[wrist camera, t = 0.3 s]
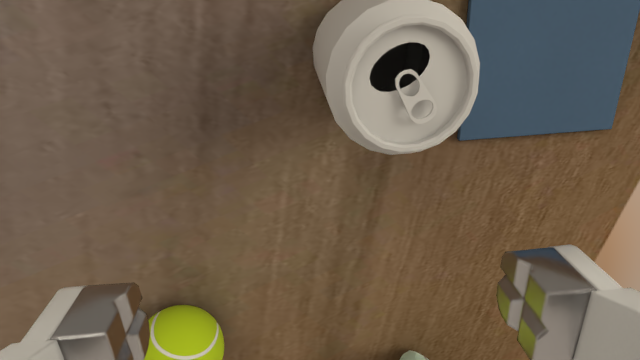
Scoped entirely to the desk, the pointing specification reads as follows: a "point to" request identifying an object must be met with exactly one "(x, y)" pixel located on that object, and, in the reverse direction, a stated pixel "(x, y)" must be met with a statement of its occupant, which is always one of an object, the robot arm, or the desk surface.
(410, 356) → the striped green spinning top
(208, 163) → the desk surface
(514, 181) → the desk surface
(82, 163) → the desk surface
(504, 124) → the mat
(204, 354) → the tennis ball
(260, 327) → the desk surface
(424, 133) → the can
